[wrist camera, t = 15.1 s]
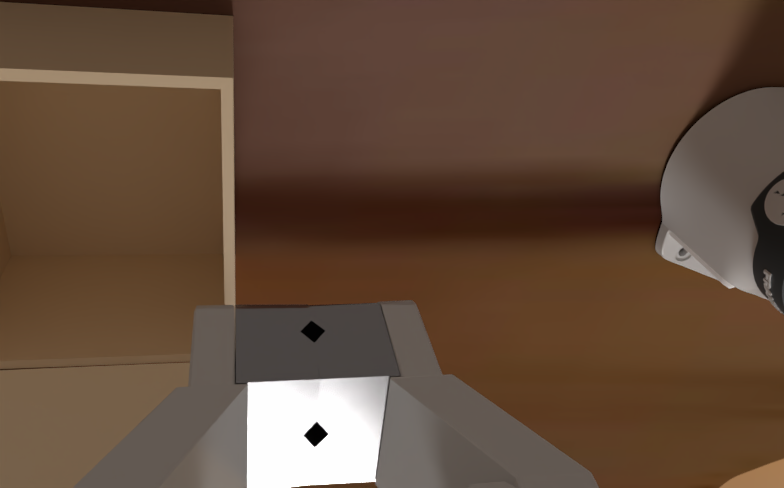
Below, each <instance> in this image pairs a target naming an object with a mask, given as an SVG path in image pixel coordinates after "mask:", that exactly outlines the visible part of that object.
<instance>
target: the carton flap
mask: <svg viewBox="0 0 784 488" xmlns="http://www.w3.org/2000/svg"><path fill="white" fill-rule="evenodd" d="M189 369H190V363H167V364H143V365H118V366H93V367H69V368H44V369H19V370H0V488H73V487H74V486H75V485H76V484H77V483H78V482H79V481H80V480H81V479H82V478H83V477H84V476H85V475H86V474H87V473H88V472H89V471H90V470H92V469H93V468H94V467H95V466H96V465H97V464H98V463H99V462H100V461H101V460H102V459H103V458H104V457H105V456H106V455H107V454H108V453H109V452H110V451H111V450H112V449H113V448H114V447H115V446H116V445H117V444H118V443H119V442H120V441H122V440H123V439H124V438H125V437H126V436H127V435H128V434H129V433H130V432H131V431H132V430H133V429H134V428H135V427H136V426H137V425H138V424H139V423H140V422H141V421H142V420H143V419H144V418H145V417H146V416H147V415H148V414H149V413H151V412H152V411H153V410H154V409H155V408H156V407H157V406H158V405H159V404H160V403H161V402H162V401H163V400H164V399H165V398H166V397H167V396H168V395H169V394H170V393H171V392H172V391H173V390H174V389H175V388H177V387H188V382H189Z"/></svg>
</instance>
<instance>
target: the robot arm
mask: <svg viewBox="0 0 784 488" xmlns="http://www.w3.org/2000/svg"><path fill="white" fill-rule="evenodd" d="M660 199H661V209H662V224H661V227H660V230H659V233H658V236H657V240H656V246H655V248H656V251H657V253H658V254H659V255H661V256H662V257H663V258H665V259H666V260H669V261H671V262H674V263H676V264H679V265H681V266H684V267H686V268H689V269H691V270H694V271H696V272H699V273H701V274H704V275H706V276H709V277H712V278H714V279H717V280H719V281H720V282H721V283H722V284H723V285H725V286H726V287H728V288H733V287H736V288H738V289H740V290H742V291H745V292H748V293H751V294H754V295H757V296H760V297H762V298H765V299H768V300H769V301H770V302H771V303H772V305H773V306H774V307H775V308H776V309H777V310H778V311H779V312H781V313H782V314H784V87H766V88H759V89H754V90H750V91H747V92H744V93H741V94H739V95H736V96H734V97H732V98H730V99H728V100H726V101H724V102H723V103H721V104H719V105H718V106H716V107H715V108H713V109H712V110H710V111H709V112H708V113H707V114H705V115H704V116H703V117H702V118H701V119H700V120H698V121H697V122H696V123H695V124H694V125H693V126H692V127H691V129H690V130H689V131H688V132H687V133H686V134H685V136H684V137H683V138H682V139H681V141H680V142H679V144H678V145H677V147H676V148H675V150H674V152H673V154H672V155H671V157H670V159H669V162H668V164H667V166H666V169H665V172H664V175H663V179H662V184H661V194H660ZM682 248H683V249H682ZM681 249H682V250H681ZM680 250H681V251H680ZM374 481H376V486H377V487H378V488H599V487H598V485H597V483H596V481H595V479H594V477H593V475H592V473H591V472H590V471H588V470H587V469H585V468H584V467H583V466H581V465H580V464H578V463H577V462H576V461H574V460H573V459H571V458H570V457H568V456H567V455H566V454H564V453H563V452H561V451H560V450H559V449H557V448H556V447H554V446H553V445H551V444H550V443H549V442H547V441H546V440H544V439H543V438H542V437H540V436H539V435H537V434H536V433H535V432H533V431H532V430H530V429H529V428H527V427H526V426H525V425H523V424H522V423H520V422H519V421H518V420H516V419H515V418H513V417H512V416H510V415H509V414H508V413H506V412H505V411H503V410H502V409H501V408H499V407H498V406H496V405H495V404H493V403H492V402H491V401H489V400H488V399H486V398H485V397H484V396H482V395H481V394H479V393H478V392H476V391H475V390H474V389H472V388H471V387H469V386H468V385H467V384H465V383H464V382H462V381H461V380H460V379H458V378H457V377H455V376H454V375H442V372H441V370H440V367H439V364H438V362H437V359H436V356H435V353H434V351H433V348H432V345H431V343H430V340H429V337H428V335H427V332H426V329H425V327H424V324H423V321H422V318H421V316H420V313H419V310H418V308H417V305H416V303H414V302H413V301H412V300H405V301H386V302H378V303H363V304H332V305H235V308H234V306H233V305H198V306H196V308H195V311H194V319H193V331H192V344H191V357H190V369H189V382H188V387H177V388H175V389H174V390H173V391H172V392H171V393H170V394H169V395H168V396H167V397H166V398H165V399H164V400H163V401H162V402H161V403H160V404H159V405H158V406H157V407H156V408H155V409H154V410H153V411H152V412H151V413H149V414H148V415H147V416H146V417H145V418H144V419H143V420H142V421H141V422H140V423H139V424H138V425H137V426H136V427H135V428H134V429H133V430H132V431H131V432H130V433H129V434H128V435H127V436H126V437H125V438H124V439H123V440H122V441H120V442H119V443H118V444H117V445H116V446H115V447H114V448H113V449H112V450H111V451H110V452H109V453H108V454H107V455H106V456H105V457H104V458H103V459H102V460H101V461H100V462H99V463H98V464H97V465H96V466H95V467H94V468H93V469H92V470H90V471H89V472H88V473H87V474H86V475H85V476H84V477H83V478H82V479H81V480H80V481H79V482H78V483H77V484H76V485H75V486H74V487H73V488H284V487H294V486H303V485H312V484H313V485H314V484H334V483H354V482H374Z"/></svg>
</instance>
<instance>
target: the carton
mask: <svg viewBox="0 0 784 488" xmlns="http://www.w3.org/2000/svg"><path fill="white" fill-rule="evenodd" d="M198 305H233V306H234V308H235V177H234V50H233V16H228V15H211V14H194V13H178V12H161V11H144V10H128V9H111V8H95V7H78V6H61V5H45V4H28V3H11V2H0V369H17V368H41V367H66V366H91V365H116V364H141V363H166V362H190V357H191V344H192V331H193V319H194V311H195V308H196V306H198Z"/></svg>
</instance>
